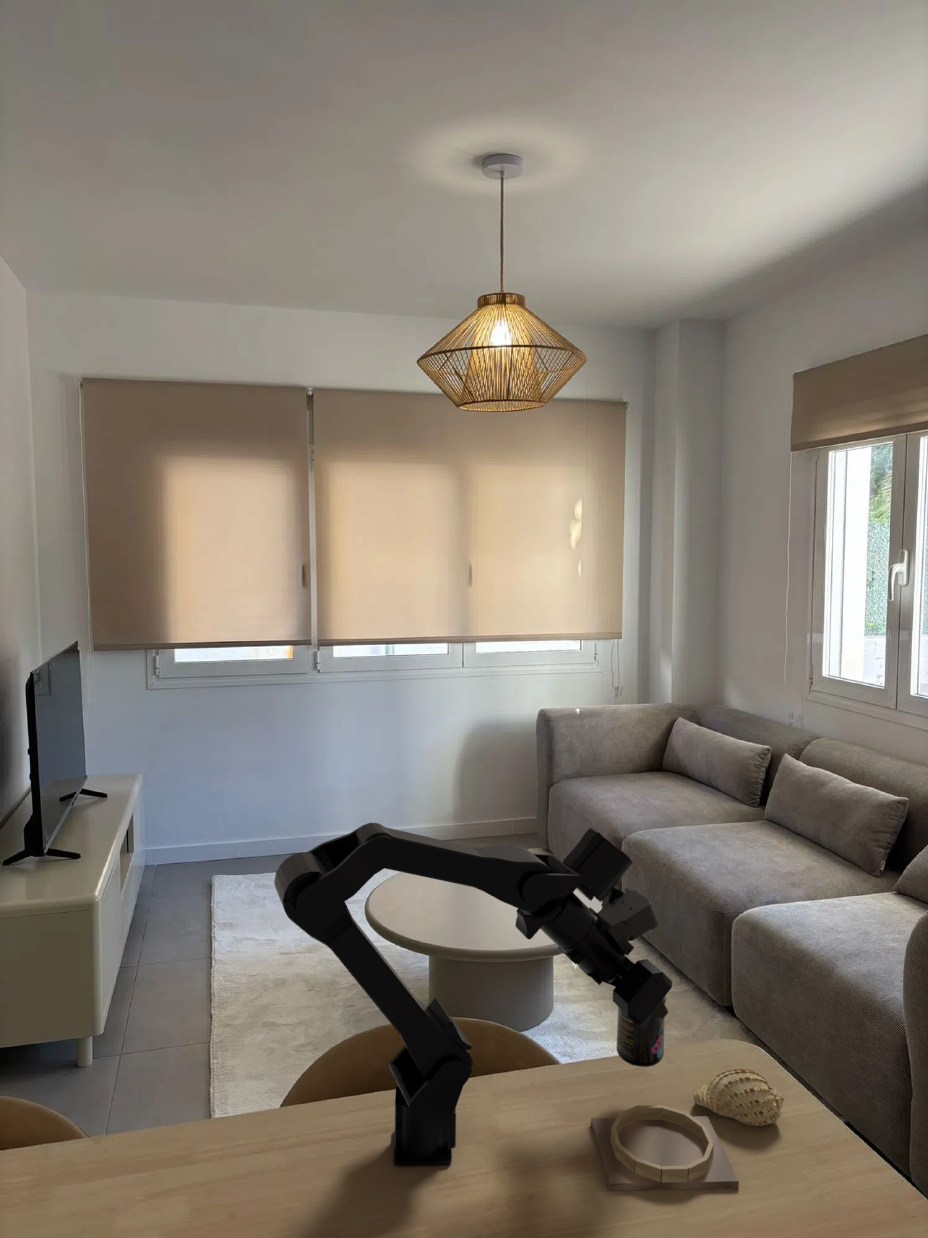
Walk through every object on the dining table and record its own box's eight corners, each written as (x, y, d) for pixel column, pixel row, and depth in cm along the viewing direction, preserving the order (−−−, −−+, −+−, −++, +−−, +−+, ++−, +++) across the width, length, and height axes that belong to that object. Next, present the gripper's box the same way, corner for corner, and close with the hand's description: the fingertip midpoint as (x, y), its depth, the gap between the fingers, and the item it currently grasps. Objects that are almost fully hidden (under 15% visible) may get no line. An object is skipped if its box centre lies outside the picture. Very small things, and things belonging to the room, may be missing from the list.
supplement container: (649, 1075, 109) (652, 1002, 108) (607, 1057, 112) (609, 986, 112) (672, 1054, 113) (674, 984, 112) (630, 1037, 117) (632, 970, 116)
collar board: (609, 1190, 97) (610, 1170, 97) (590, 1124, 108) (591, 1106, 108) (738, 1188, 98) (739, 1168, 97) (707, 1122, 109) (707, 1104, 108)
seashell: (718, 1157, 107) (797, 1124, 106) (698, 1113, 107) (777, 1080, 106) (702, 1116, 115) (775, 1085, 114) (682, 1074, 114) (756, 1043, 114)
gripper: (660, 905, 101) (739, 986, 105) (582, 850, 118) (652, 922, 123) (594, 984, 99) (677, 1063, 103) (525, 916, 116) (599, 987, 121)
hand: (651, 1002), depth 113 cm, fingers closed on supplement container, 6 cm apart
